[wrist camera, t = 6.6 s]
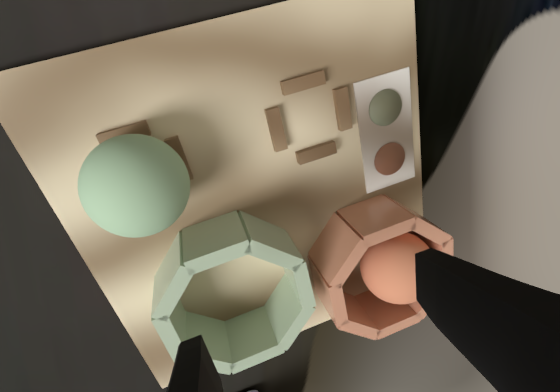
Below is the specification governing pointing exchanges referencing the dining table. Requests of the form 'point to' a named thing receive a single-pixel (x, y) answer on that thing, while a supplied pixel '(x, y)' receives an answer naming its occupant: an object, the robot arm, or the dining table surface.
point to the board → (230, 139)
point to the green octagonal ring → (249, 326)
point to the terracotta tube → (347, 253)
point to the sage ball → (133, 185)
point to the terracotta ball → (392, 268)
